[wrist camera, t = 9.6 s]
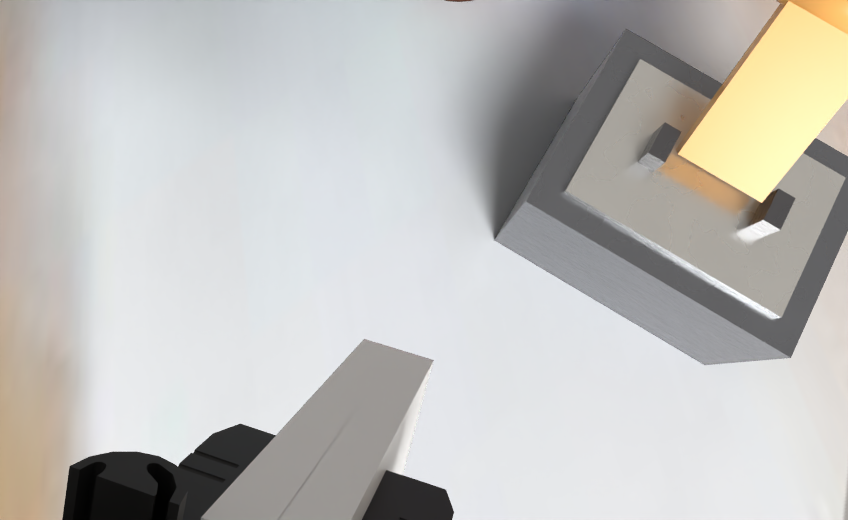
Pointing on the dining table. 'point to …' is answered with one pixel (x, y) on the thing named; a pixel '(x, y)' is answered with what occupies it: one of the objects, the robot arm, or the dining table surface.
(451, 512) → the robot arm
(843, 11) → the lever
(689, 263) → the box
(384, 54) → the dining table surface
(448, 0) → the food container
